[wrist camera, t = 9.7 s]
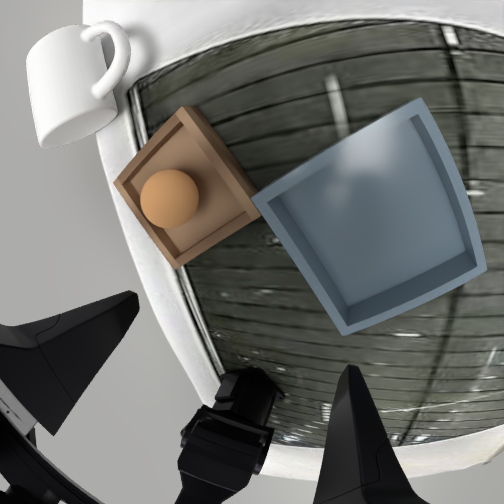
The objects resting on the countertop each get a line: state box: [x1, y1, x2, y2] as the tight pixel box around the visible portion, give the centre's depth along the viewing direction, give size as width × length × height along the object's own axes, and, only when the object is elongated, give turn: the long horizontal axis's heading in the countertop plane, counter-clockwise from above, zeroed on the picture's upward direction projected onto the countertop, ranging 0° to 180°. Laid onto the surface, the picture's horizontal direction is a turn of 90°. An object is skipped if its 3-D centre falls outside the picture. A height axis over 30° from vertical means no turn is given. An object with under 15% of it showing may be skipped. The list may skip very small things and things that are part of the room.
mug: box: [26, 21, 131, 149], centre depth 16 cm, size 12×10×8 cm
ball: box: [140, 169, 199, 228], centre depth 20 cm, size 4×4×4 cm
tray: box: [113, 106, 262, 270], centre depth 22 cm, size 10×10×2 cm
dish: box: [250, 97, 487, 336], centre depth 18 cm, size 13×13×3 cm
